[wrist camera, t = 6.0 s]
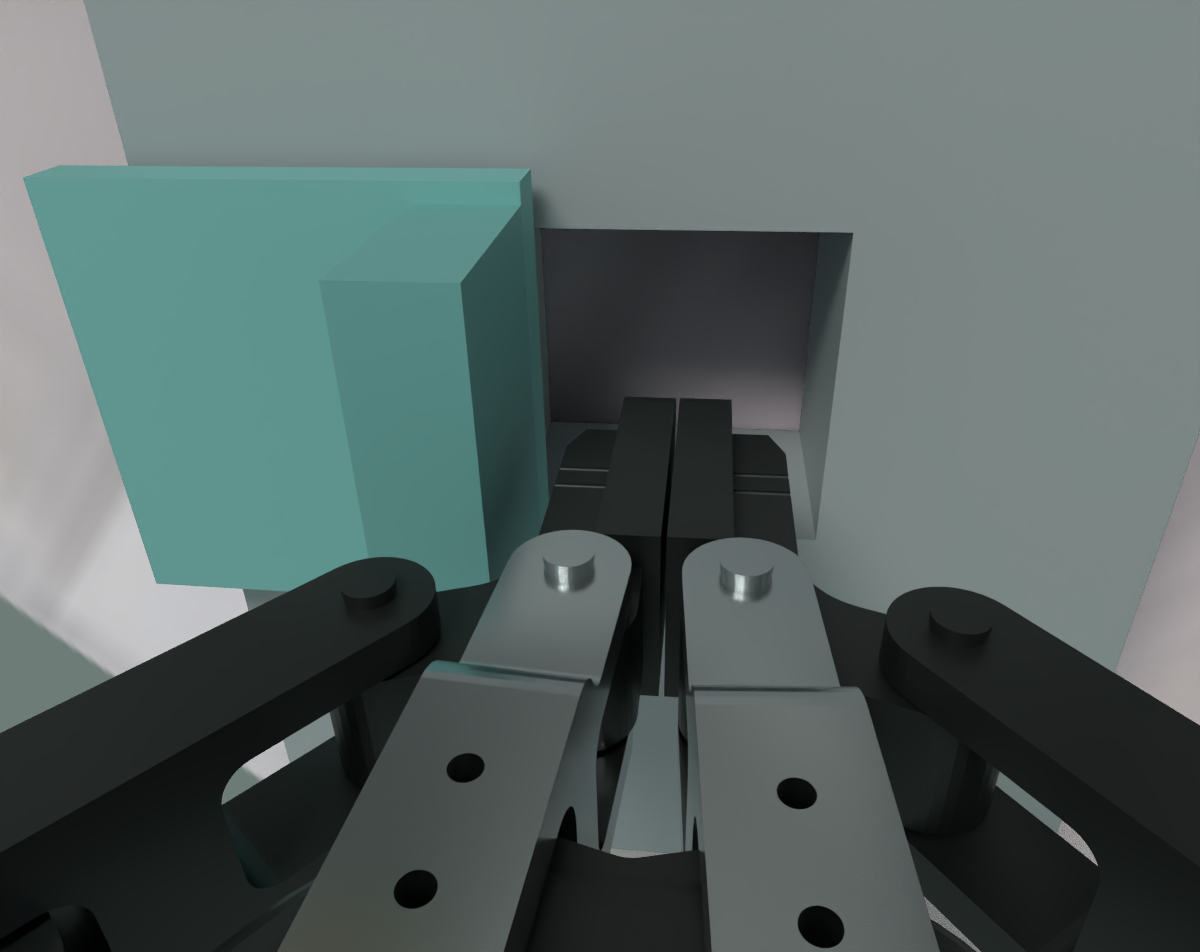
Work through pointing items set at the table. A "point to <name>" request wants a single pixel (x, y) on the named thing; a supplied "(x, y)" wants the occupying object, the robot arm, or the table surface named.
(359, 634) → the robot arm
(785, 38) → the socket plate
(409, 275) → the shutter
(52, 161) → the table surface
